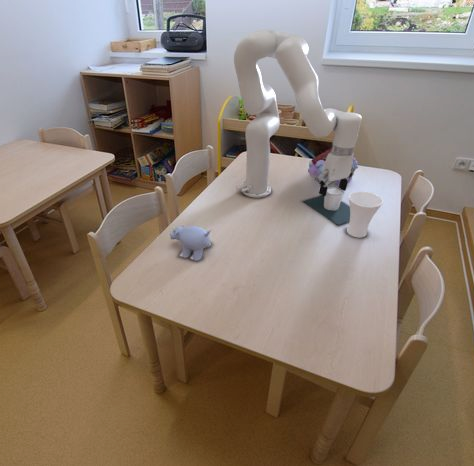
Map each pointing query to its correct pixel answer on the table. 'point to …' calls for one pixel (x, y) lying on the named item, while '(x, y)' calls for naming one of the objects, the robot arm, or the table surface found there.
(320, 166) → the pastel bubbly cloud
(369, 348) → the table surface
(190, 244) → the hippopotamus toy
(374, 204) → the cup
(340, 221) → the mat
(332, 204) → the shot glass
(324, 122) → the robot arm
